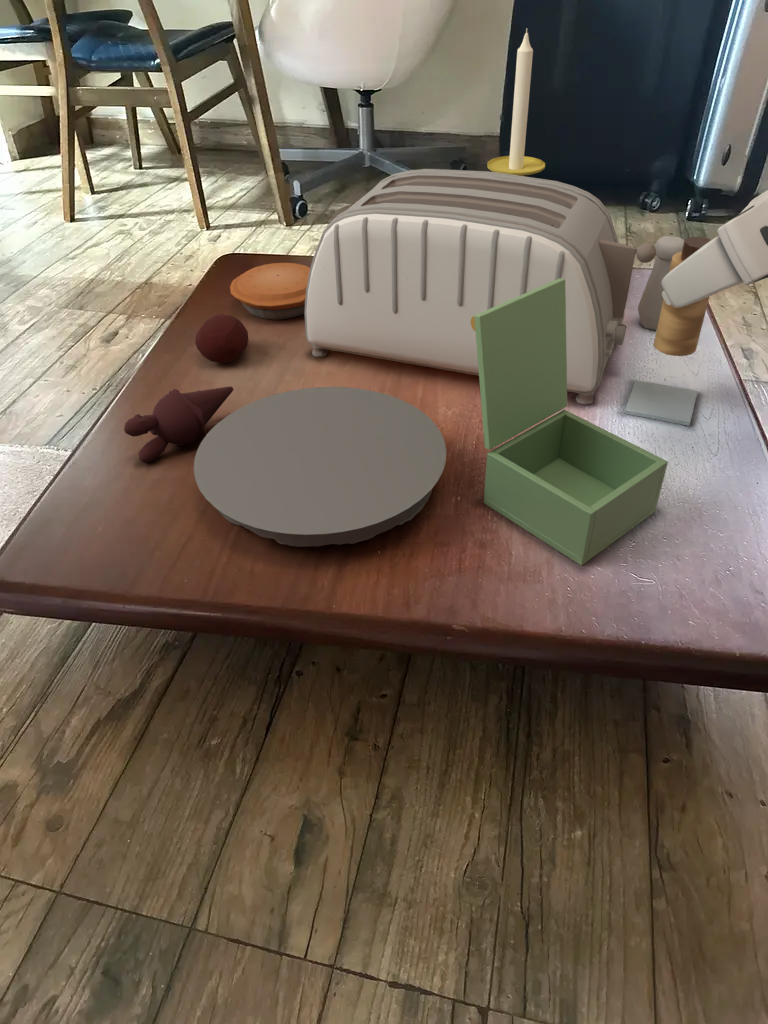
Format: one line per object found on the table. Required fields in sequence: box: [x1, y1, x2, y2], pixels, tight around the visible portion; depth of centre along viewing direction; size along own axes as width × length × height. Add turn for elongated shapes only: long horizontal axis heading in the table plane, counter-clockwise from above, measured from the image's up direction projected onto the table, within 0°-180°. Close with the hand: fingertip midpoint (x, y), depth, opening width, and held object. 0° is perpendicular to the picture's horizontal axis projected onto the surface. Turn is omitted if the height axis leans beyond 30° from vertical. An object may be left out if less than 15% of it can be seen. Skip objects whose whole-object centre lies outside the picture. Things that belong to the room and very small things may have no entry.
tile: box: [623, 379, 699, 427], centre depth 101 cm, size 8×8×1 cm
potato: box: [194, 313, 249, 364], centre depth 112 cm, size 8×9×6 cm
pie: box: [229, 262, 311, 321], centre depth 125 cm, size 15×16×5 cm
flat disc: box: [193, 386, 447, 548], centre depth 88 cm, size 28×28×4 cm
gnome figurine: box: [123, 386, 234, 464], centre depth 96 cm, size 7×7×15 cm
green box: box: [483, 409, 669, 567], centre depth 83 cm, size 14×13×7 cm
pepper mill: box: [653, 236, 712, 357], centre depth 92 cm, size 5×5×13 cm
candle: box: [486, 28, 546, 176], centre depth 115 cm, size 10×10×38 cm
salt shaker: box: [637, 235, 685, 331], centre depth 114 cm, size 6×6×13 cm
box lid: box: [471, 278, 568, 451], centre depth 82 cm, size 14×13×5 cm
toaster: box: [304, 168, 656, 406], centre depth 106 cm, size 21×45×22 cm, turn 68°
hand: (683, 289), depth 92 cm, fingers closed on pepper mill, 5 cm apart
